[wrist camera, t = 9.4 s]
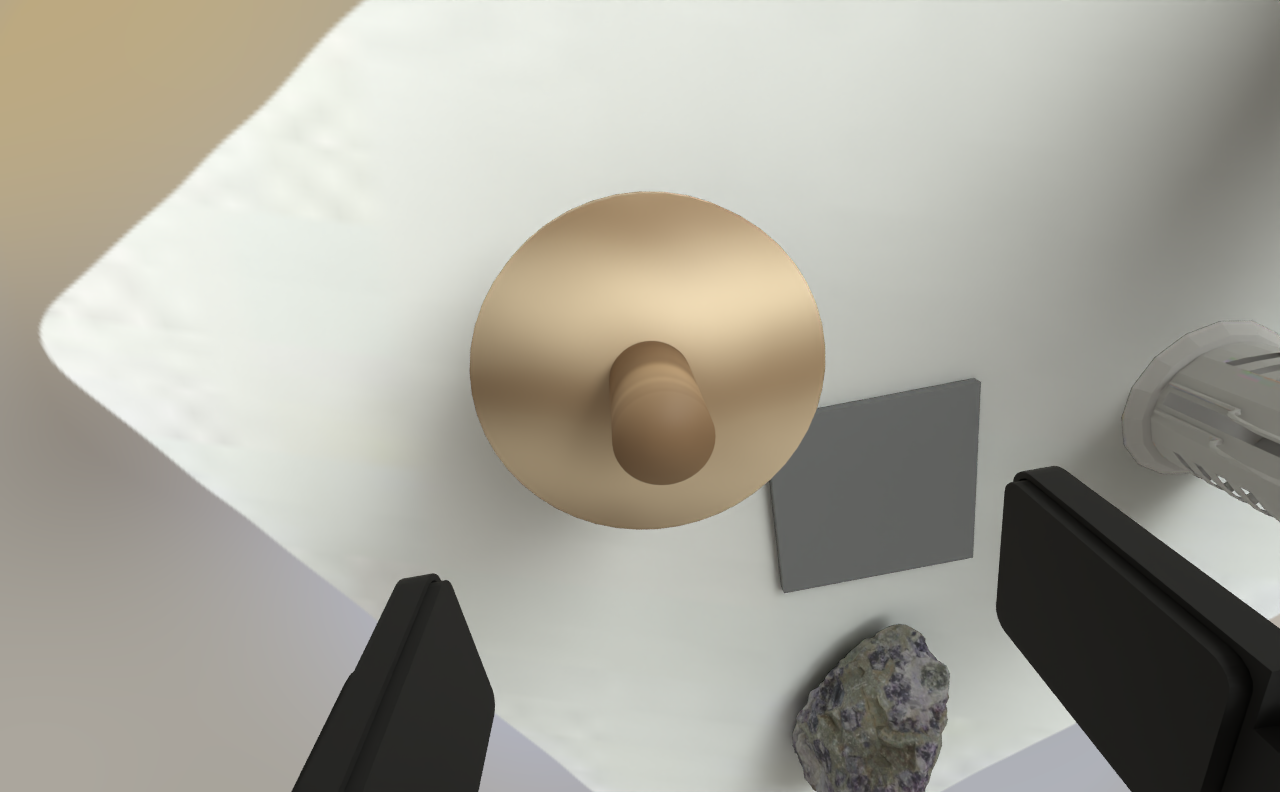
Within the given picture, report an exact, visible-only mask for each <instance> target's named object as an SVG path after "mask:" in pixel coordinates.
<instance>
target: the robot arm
mask: <svg viewBox="0 0 1280 792" xmlns="http://www.w3.org/2000/svg"><path fill="white" fill-rule="evenodd" d="M996 612H997V616H998V619H999V622H1000V624H1001V626H1002V628H1003V629H1004V631H1005V632H1006V634H1007V635H1008V636H1009V637H1010V639H1011V640H1012V641H1013V642H1014V644H1015V645H1016V646H1017V648H1018V649H1019V650H1020V651H1021V653H1022V654H1023V655H1024V656H1025V658H1026V659H1027V660H1028V661H1029V663H1030V664H1031V665H1032V666H1033V668H1034V669H1035V670H1036V672H1037V673H1038V674H1039V675H1040V677H1041V678H1042V679H1043V680H1044V682H1045V683H1046V684H1047V685H1048V687H1049V688H1050V689H1051V691H1052V692H1053V693H1054V694H1055V696H1056V697H1057V698H1058V699H1059V701H1060V702H1061V703H1062V704H1063V706H1064V707H1065V708H1066V710H1067V711H1068V712H1069V713H1070V715H1071V716H1072V717H1073V718H1074V720H1075V721H1076V722H1077V723H1078V725H1079V726H1080V727H1081V729H1082V730H1083V731H1084V732H1085V733H1086V735H1087V736H1088V737H1089V739H1090V740H1091V741H1092V742H1093V744H1094V745H1095V746H1096V748H1097V749H1098V750H1099V751H1100V752H1101V754H1102V755H1103V756H1104V757H1105V759H1106V760H1107V761H1108V763H1109V764H1110V765H1111V767H1112V768H1113V769H1114V770H1115V771H1116V773H1117V774H1118V775H1119V777H1120V778H1121V779H1122V780H1123V782H1124V783H1125V784H1126V785H1127V787H1128V788H1129V789H1130V791H1131V792H1280V628H1278V627H1277V626H1275V625H1274V624H1273V623H1271V622H1270V621H1269V620H1267V619H1266V618H1265V617H1263V616H1262V615H1261V614H1259V613H1258V612H1257V611H1255V610H1254V609H1252V608H1251V607H1250V606H1248V605H1247V604H1246V603H1244V602H1243V601H1242V600H1240V599H1239V598H1238V597H1236V596H1235V595H1234V594H1232V593H1231V592H1229V591H1228V590H1227V589H1225V588H1224V587H1223V586H1221V585H1220V584H1219V583H1217V582H1216V581H1215V580H1213V579H1212V578H1211V577H1209V576H1208V575H1206V574H1205V573H1204V572H1202V571H1201V570H1200V569H1198V568H1197V567H1196V566H1194V565H1193V564H1192V563H1190V562H1189V561H1188V560H1186V559H1185V558H1183V557H1182V556H1181V555H1179V554H1178V553H1177V552H1175V551H1174V550H1173V549H1171V548H1170V547H1169V546H1167V545H1166V544H1165V543H1163V542H1162V541H1160V540H1159V539H1158V538H1156V537H1155V536H1154V535H1152V534H1151V533H1150V532H1148V531H1147V530H1146V529H1144V528H1143V527H1142V526H1140V525H1139V524H1137V523H1136V522H1135V521H1133V520H1132V519H1131V518H1129V517H1128V516H1127V515H1125V514H1124V513H1123V512H1121V511H1120V510H1119V509H1117V508H1116V507H1114V506H1113V505H1112V504H1110V503H1109V502H1108V501H1106V500H1105V499H1104V498H1102V497H1101V496H1100V495H1098V494H1097V493H1096V492H1094V491H1093V490H1091V489H1090V488H1089V487H1087V486H1086V485H1085V484H1083V483H1082V482H1081V481H1079V480H1078V479H1077V478H1075V477H1074V476H1073V475H1071V474H1070V473H1068V472H1067V471H1066V470H1064V469H1062V468H1061V467H1058V466H1051V467H1045V468H1039V469H1034V470H1028V471H1022V472H1019V473H1017V474H1016V476H1015V477H1014V480H1013V482H1011V483H1009V484H1007V486H1006V488H1005V494H1004V507H1003V521H1002V534H1001V547H1000V561H999V574H998V588H997V601H996ZM494 712H495V700H494V694H493V690H492V687H491V685H490V682H489V680H488V677H487V675H486V672H485V669H484V667H483V664H482V662H481V659H480V657H479V654H478V651H477V649H476V646H475V644H474V641H473V638H472V636H471V633H470V631H469V628H468V626H467V623H466V620H465V618H464V615H463V613H462V610H461V607H460V605H459V602H458V600H457V597H456V595H455V592H454V589H453V587H452V585H451V583H450V582H449V581H448V580H444V581H441V579H440V578H439V576H438V575H437V574H427V575H422V576H416V577H410V578H404V579H401V580H399V582H398V583H397V584H396V586H395V588H394V590H393V592H392V594H391V596H390V598H389V601H388V603H387V605H386V607H385V609H384V611H383V613H382V615H381V617H380V619H379V621H378V623H377V626H376V627H375V629H374V631H373V634H372V636H371V638H370V640H369V642H368V644H367V646H366V648H365V650H364V652H363V654H362V656H361V658H360V660H359V662H358V664H357V666H356V668H355V671H354V672H353V673H351V675H350V676H349V678H348V679H347V681H346V682H345V684H344V686H343V688H342V690H341V693H340V694H339V696H338V698H337V700H336V702H335V704H334V706H333V708H332V711H331V713H330V715H329V717H328V719H327V721H326V723H325V725H324V727H323V729H322V731H321V733H320V735H319V737H318V739H317V741H316V743H315V745H314V747H313V749H312V751H311V753H310V755H309V757H308V759H307V761H306V763H305V765H304V767H303V770H302V771H301V773H300V776H299V778H298V780H297V782H296V784H295V786H294V788H293V790H292V792H478V790H479V786H480V781H481V776H482V771H483V766H484V761H485V757H486V752H487V747H488V742H489V737H490V732H491V728H492V723H493V718H494Z"/></svg>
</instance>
